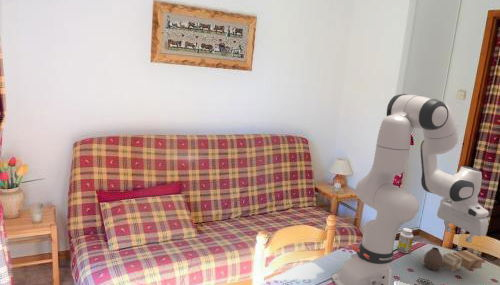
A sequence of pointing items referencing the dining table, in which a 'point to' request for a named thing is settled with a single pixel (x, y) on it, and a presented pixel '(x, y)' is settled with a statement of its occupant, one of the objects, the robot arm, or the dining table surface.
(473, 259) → the walnut block
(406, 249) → the supplement bottle
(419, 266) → the dining table surface
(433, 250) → the vase
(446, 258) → the maple cube
